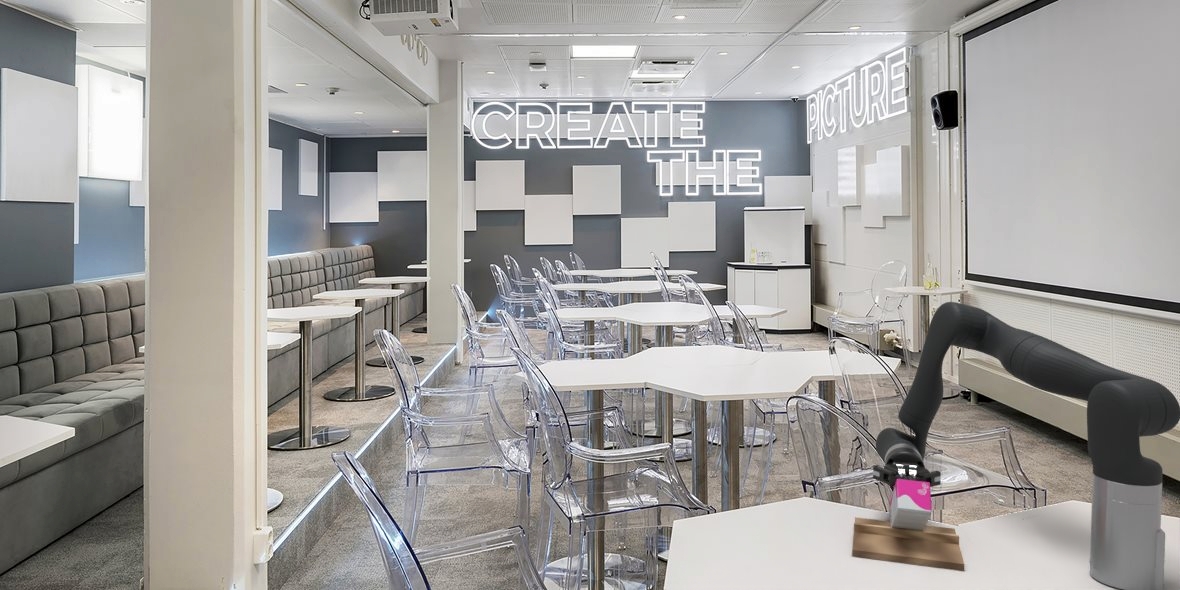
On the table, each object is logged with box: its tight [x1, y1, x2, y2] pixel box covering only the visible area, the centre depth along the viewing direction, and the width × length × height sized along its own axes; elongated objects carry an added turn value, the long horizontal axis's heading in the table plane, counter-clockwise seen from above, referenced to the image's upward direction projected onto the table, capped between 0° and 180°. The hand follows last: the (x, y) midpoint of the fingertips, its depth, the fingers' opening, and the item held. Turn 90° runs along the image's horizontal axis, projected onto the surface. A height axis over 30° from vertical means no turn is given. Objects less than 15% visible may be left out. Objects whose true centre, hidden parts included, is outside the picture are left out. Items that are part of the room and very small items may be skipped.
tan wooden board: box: [851, 517, 965, 572], centre depth 137 cm, size 18×17×3 cm
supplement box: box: [889, 479, 932, 531], centre depth 136 cm, size 6×6×12 cm
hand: (908, 486), depth 138 cm, fingers closed
